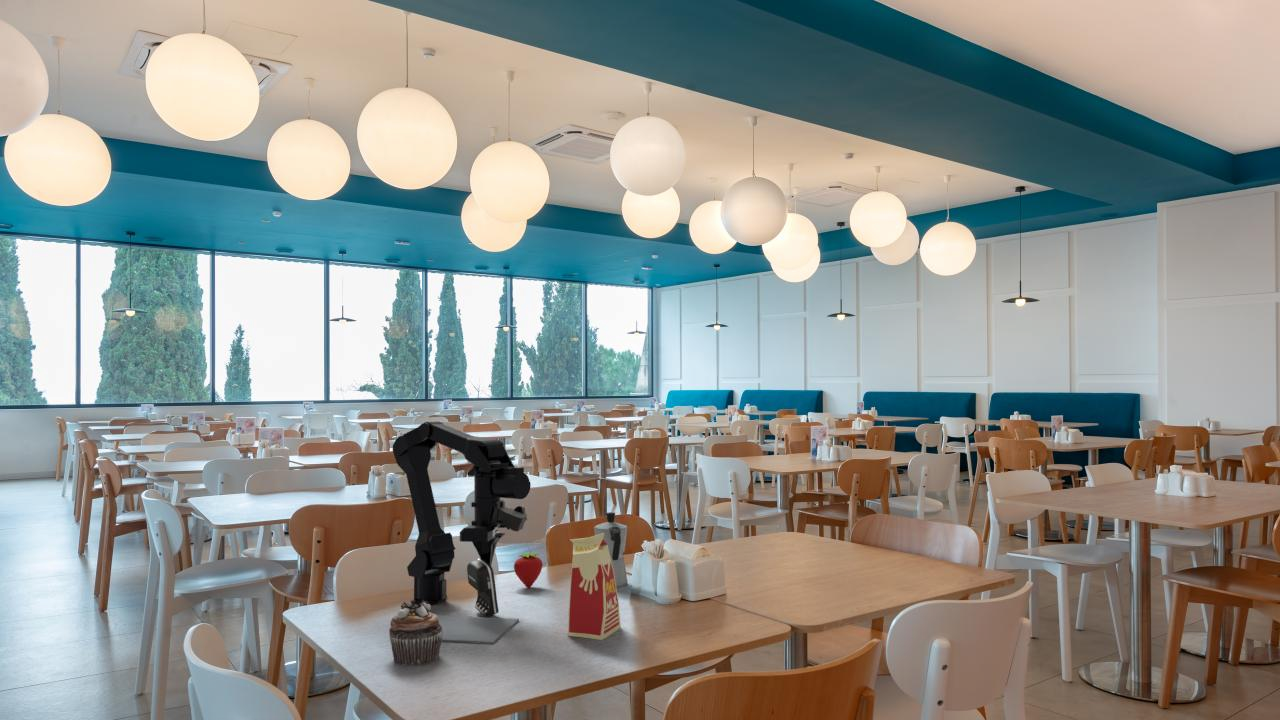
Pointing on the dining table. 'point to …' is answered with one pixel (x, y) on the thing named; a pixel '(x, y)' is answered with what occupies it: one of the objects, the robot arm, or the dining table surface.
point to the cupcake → (415, 634)
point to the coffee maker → (615, 546)
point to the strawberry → (528, 568)
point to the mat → (474, 629)
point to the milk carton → (592, 590)
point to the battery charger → (483, 586)
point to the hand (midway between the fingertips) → (487, 567)
